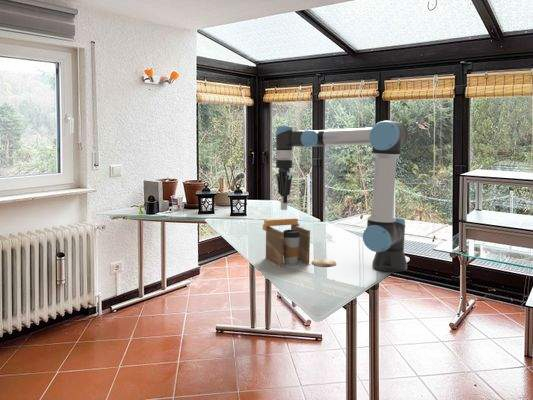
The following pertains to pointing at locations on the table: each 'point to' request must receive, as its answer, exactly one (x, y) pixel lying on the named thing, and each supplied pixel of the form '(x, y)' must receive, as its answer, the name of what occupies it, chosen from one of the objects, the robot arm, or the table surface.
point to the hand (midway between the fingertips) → (284, 209)
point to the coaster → (323, 262)
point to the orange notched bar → (280, 222)
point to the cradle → (277, 244)
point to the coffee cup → (291, 246)
